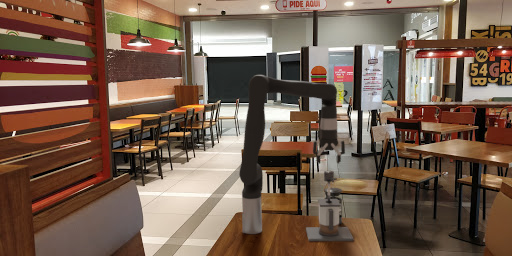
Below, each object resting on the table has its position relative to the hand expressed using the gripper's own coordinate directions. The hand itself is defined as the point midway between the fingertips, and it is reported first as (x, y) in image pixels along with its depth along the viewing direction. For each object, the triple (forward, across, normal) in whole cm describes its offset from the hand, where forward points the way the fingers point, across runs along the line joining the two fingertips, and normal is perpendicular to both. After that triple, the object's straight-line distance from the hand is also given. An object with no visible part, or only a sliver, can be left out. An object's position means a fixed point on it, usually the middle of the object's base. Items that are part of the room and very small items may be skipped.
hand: (328, 163), depth 185 cm
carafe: (+33, 0, -1) cm, 33 cm away
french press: (+34, +4, +17) cm, 39 cm away
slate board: (+34, 0, 0) cm, 34 cm away
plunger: (+19, 0, 0) cm, 19 cm away
